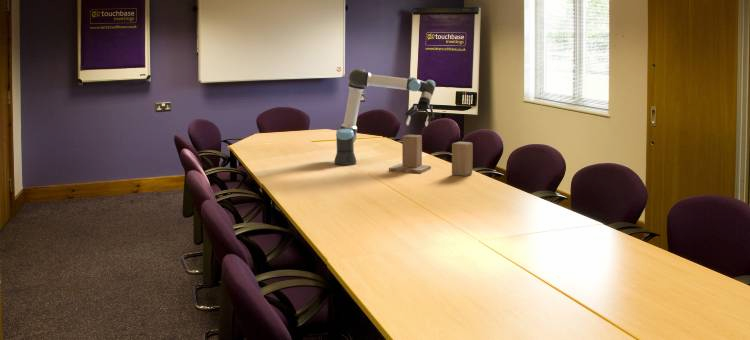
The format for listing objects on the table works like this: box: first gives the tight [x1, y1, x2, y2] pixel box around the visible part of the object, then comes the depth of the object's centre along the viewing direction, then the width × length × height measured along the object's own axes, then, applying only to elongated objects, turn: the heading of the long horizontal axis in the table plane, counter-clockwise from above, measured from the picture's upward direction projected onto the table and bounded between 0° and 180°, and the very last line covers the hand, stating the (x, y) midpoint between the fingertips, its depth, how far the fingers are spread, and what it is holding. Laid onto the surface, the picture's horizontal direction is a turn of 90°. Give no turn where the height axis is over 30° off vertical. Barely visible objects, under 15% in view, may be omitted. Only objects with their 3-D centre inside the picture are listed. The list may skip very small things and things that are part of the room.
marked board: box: [388, 163, 432, 174], centre depth 455 cm, size 22×18×2 cm
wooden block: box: [401, 134, 423, 168], centre depth 456 cm, size 10×10×20 cm
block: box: [451, 141, 474, 177], centre depth 436 cm, size 10×10×20 cm
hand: (416, 124), depth 467 cm, fingers open, 13 cm apart
